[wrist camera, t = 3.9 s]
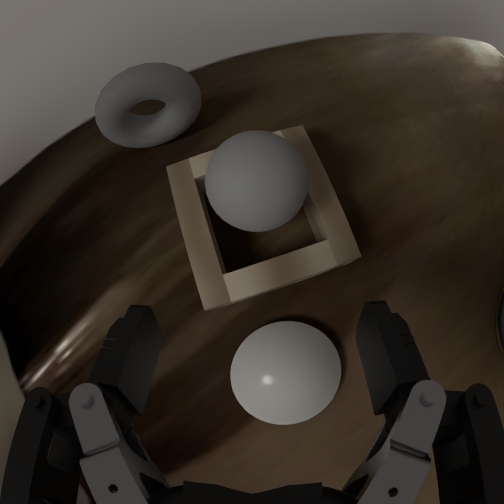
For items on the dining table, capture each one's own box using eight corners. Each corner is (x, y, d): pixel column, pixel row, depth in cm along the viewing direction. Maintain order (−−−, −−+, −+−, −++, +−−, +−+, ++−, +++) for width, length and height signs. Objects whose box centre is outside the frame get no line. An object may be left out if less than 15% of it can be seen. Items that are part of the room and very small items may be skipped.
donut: (206, 110, 27) (185, 39, 17) (213, 133, 26) (192, 61, 16) (121, 141, 27) (76, 86, 17) (123, 166, 26) (73, 112, 16)
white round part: (251, 432, 21) (250, 436, 20) (217, 340, 22) (215, 341, 22) (350, 399, 21) (352, 402, 20) (320, 305, 23) (322, 305, 22)
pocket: (213, 309, 23) (204, 310, 19) (177, 183, 25) (166, 166, 22) (348, 263, 23) (361, 256, 20) (298, 146, 25) (302, 125, 22)
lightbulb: (283, 264, 23) (299, 228, 13) (214, 243, 24) (176, 194, 13) (302, 198, 24) (325, 124, 14) (236, 180, 25) (219, 101, 14)
